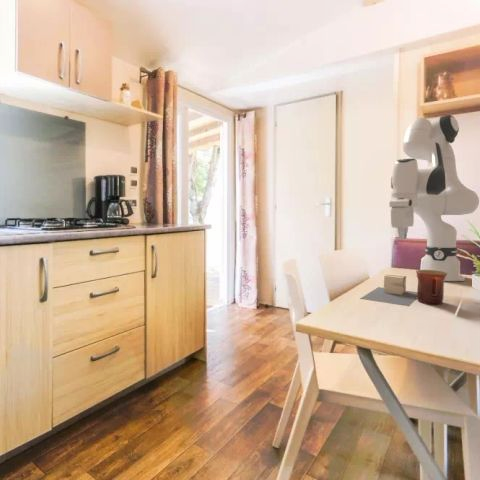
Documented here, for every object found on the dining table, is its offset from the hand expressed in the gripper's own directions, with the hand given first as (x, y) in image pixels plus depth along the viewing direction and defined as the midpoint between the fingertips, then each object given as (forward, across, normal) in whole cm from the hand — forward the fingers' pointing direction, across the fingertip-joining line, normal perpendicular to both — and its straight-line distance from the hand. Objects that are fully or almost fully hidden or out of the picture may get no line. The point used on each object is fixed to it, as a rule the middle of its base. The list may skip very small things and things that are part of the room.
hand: (402, 239), depth 129 cm
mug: (+19, +18, +13) cm, 29 cm away
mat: (+19, +15, 0) cm, 24 cm away
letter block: (+19, +9, 0) cm, 21 cm away
